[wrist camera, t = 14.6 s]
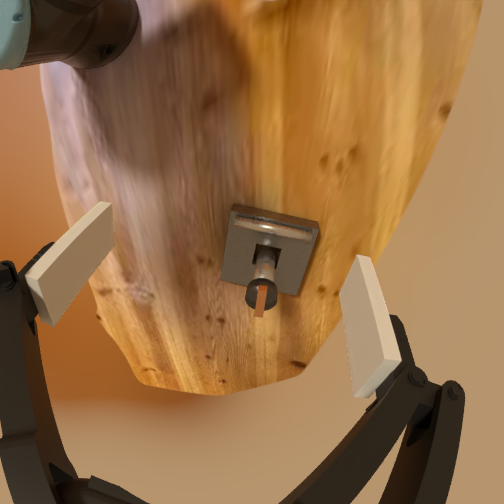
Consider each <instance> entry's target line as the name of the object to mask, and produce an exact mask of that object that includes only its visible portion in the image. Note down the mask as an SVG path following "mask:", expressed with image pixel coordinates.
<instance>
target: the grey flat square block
mask: <svg viewBox="0 0 504 504" xmlns="http://www.w3.org/2000/svg"><path fill="white" fill-rule="evenodd" d="M318 232H319V225H318V222H315V221H311V220H307V219H302V218H298V217H293V216H289V215H284V214H279V213H275V212H270V211H265V210H261V209H256V208H251V207H246V206H241V205H236V204H233V206H232V209H231V212H230V219H229V225H228V232H227V238H226V245H225V251H224V258H223V265H222V271H221V278H220V280H222V281H227V282H232V283H237V284H241V285H246V286H248V284H249V283H250V282H251V281H252V280H253V279H254V273H255V267H256V261H257V256H254V252H255V247H256V244H261V245H266V246H271V247H275V248H280V250H279V254H278V258H277V261H276V260H275V269H274V281H273V282H274V283H275V284H276V286H277V289H278V292H281V293H286V294H291V295H297V293H298V290H299V287H300V284H301V281H302V279H303V276H304V273H305V270H306V267H307V264H308V261H309V259H310V256H311V253H312V250H313V247H314V244H315V241H316V238H317V235H318Z"/></svg>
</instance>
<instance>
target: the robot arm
mask: <svg viewBox="0 0 504 504" xmlns="http://www.w3.org/2000/svg"><path fill="white" fill-rule="evenodd" d="M137 22H138V8H137V4H136V2H135V0H0V70H3V69H10V70H13V69H16V68H19V67H24V66H29V65H35V64H41V63H48V62H54V61H61V62H63V63H65V64H68V65H70V66H72V67H75V68H80V69H88V68H96V67H101V66H103V65H106V64H108V63H109V62H111V61H113V60H114V59H115V58H117V57H118V56H119V55H120V54H121V53H122V52H123V51H124V50H125V48H126V47H127V46H128V44H129V43H130V41H131V39H132V37H133V35H134V33H135V30H136V26H137ZM114 246H115V244H114V232H113V217H112V203H108V202H102V201H100V202H99V203H97V204H96V205H95V206H94V207H93V208H92V209H91V210H90V211H88V212H87V213H86V214H85V215H84V216H83V217H82V218H81V219H80V220H79V221H77V222H76V223H75V224H74V225H73V226H72V227H71V228H70V229H69V230H68V231H67V232H66V233H65V234H64V235H63V236H62V237H61V238H60V239H59V240H58V241H57V242H56V243H55V242H51V243H49V244H47V245H46V246H44V247H43V248H42V249H41V250H40V251H39V252H38V253H37V254H36V255H35V256H34V257H33V259H31V260H30V261H29V262H28V263H27V265H26V266H24V267H23V269H22V270H21V271H20V272H19V273H18V274H17V271H16V268H15V265H14V263H13V262H12V261H8V260H6V261H1V262H0V421H1V427H2V434H3V436H2V438H1V439H0V458H1V462H2V466H3V470H4V473H5V477H6V480H7V484H8V487H9V490H10V493H11V496H12V499H13V502H14V504H149V503H147V502H145V501H143V500H141V499H140V498H138V497H136V496H134V495H132V494H131V493H129V492H128V491H126V490H124V489H123V488H121V487H120V486H117V485H115V484H111V483H109V482H107V481H104V480H102V479H99V478H97V477H95V476H92V475H91V478H90V479H87V478H86V479H85V478H78V476H77V473H76V471H75V469H74V467H73V465H72V464H71V462H70V461H69V459H68V457H67V455H66V453H65V450H64V447H63V444H62V441H61V438H60V435H59V432H58V428H57V425H56V422H55V418H54V415H53V411H52V407H51V403H50V399H49V394H48V390H47V385H46V381H45V376H44V371H43V366H42V360H41V354H40V347H39V340H38V333H37V324H36V321H35V317H36V316H37V314H38V313H39V316H40V318H41V321H42V322H43V323H45V324H48V325H50V326H52V327H55V326H56V324H57V323H58V321H59V320H60V318H61V317H62V315H63V314H64V312H65V311H66V310H67V308H68V307H69V305H70V304H71V302H72V301H73V299H74V298H75V297H76V295H77V294H78V293H79V291H80V290H81V289H82V287H83V286H84V285H85V283H86V282H87V281H88V279H89V278H90V277H91V275H92V274H93V273H94V271H95V270H96V269H97V267H98V266H99V265H100V264H101V262H102V261H103V260H104V258H105V257H106V256H107V255H108V253H109V252H110V251H111V250H112V248H113V247H114ZM339 296H340V302H341V309H342V315H343V320H344V328H345V335H346V342H347V349H348V357H349V365H350V373H351V382H352V391H353V397H363V398H369V397H370V396H371V395H372V394H373V393H374V392H375V391H376V397H377V399H376V400H375V401H374V402H373V403H372V404H371V405H370V406H369V407H368V408H367V409H366V412H365V413H364V415H363V416H362V417H361V419H360V420H359V421H358V422H357V423H356V424H355V426H354V427H353V428H352V429H351V430H350V432H349V433H348V434H347V435H346V436H345V437H344V439H343V440H342V441H341V442H340V443H339V444H338V446H337V447H336V448H335V449H334V450H333V451H332V452H331V453H330V454H329V455H328V456H327V458H326V459H325V460H324V461H323V462H322V463H321V464H320V465H319V466H318V467H317V468H316V469H315V470H314V471H313V472H312V473H311V474H310V475H309V476H308V477H307V478H306V479H305V480H304V481H303V482H302V483H301V484H300V485H299V486H298V487H297V488H295V489H294V490H293V491H292V492H291V493H290V494H289V495H288V496H287V497H286V498H284V499H283V500H282V501H281V502H280V503H279V504H350V503H351V502H352V501H353V500H354V498H355V497H356V496H357V495H358V494H359V492H360V491H361V490H362V489H363V487H364V486H365V485H366V484H367V482H368V481H369V480H370V478H371V477H372V476H373V474H374V473H375V472H376V470H377V469H378V468H379V466H380V465H381V463H382V462H383V461H384V459H385V458H386V456H387V455H388V453H389V452H390V450H391V449H392V447H393V446H394V444H395V443H396V441H397V440H398V438H399V436H400V435H401V433H402V432H403V430H404V428H405V427H406V425H407V427H406V431H405V434H404V437H403V440H402V443H401V447H400V450H399V452H398V455H397V459H396V461H395V464H394V467H393V469H392V472H391V475H390V477H389V480H388V482H387V485H386V487H385V490H384V492H383V494H382V497H381V499H380V501H379V504H445V503H446V500H447V496H448V493H449V489H450V485H451V481H452V477H453V473H454V468H455V463H456V459H457V454H458V448H459V442H460V436H461V430H462V422H463V414H464V405H465V393H464V390H463V388H462V387H461V386H460V384H458V383H457V382H456V381H452V380H450V381H446V382H445V383H444V384H443V385H442V386H440V385H437V384H435V383H432V382H430V381H428V378H427V376H426V374H425V373H424V372H423V371H422V370H421V369H420V368H418V367H416V366H415V362H414V359H413V356H412V352H411V348H410V345H409V342H408V338H407V335H406V332H405V329H404V326H403V323H402V322H401V321H400V319H399V318H398V317H397V316H396V315H390V314H389V313H388V310H387V307H386V303H385V300H384V297H383V294H382V291H381V288H380V285H379V282H378V279H377V276H376V273H375V270H374V267H373V264H372V262H371V259H370V257H366V256H362V255H358V254H357V255H356V258H355V260H354V262H353V265H352V267H351V269H350V271H349V273H348V276H347V278H346V280H345V282H344V284H343V287H342V289H341V291H340V293H339ZM407 423H408V424H407Z"/></svg>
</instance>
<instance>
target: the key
mask: <svg viewBox="0 0 504 504" xmlns="http://www.w3.org/2000/svg"><path fill="white" fill-rule="evenodd" d="M275 256H276V248H275V247H271V246H266V245H261V244H260V245H259V249H258V255H257V261H256V267H255V273H254V279H253V280H252V281H251V282H250V283H249V284H248V286H247V291H246V296H245V300H246V303H247V304H248V305H249V306H250V307H251V308H253V309H255V315H254V316H256V317H263V313H264V311H265V310H269V309H271V308H273V307H274V306H275V305H276V303H277V292H278V289H277V286H276V284H275V283H274V282H273V281H274V269H275Z"/></svg>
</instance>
